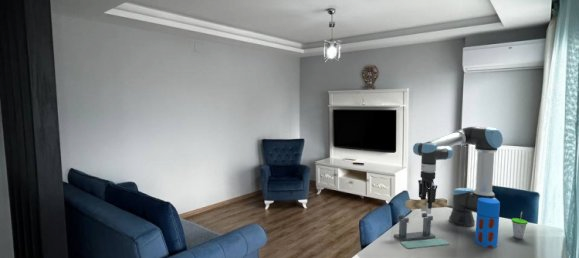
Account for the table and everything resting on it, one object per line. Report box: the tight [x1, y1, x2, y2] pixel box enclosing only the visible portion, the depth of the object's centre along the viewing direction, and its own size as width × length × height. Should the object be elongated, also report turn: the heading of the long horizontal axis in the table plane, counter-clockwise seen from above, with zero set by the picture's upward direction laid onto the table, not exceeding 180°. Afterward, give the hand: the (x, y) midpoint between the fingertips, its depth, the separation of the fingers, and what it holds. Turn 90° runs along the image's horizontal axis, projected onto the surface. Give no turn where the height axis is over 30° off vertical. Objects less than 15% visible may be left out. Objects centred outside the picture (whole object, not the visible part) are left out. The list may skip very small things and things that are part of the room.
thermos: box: [475, 198, 501, 248], centre depth 181 cm, size 11×11×25 cm
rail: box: [404, 198, 448, 211], centre depth 178 cm, size 24×4×4 cm, turn 103°
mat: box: [400, 237, 450, 250], centre depth 180 cm, size 26×7×1 cm, turn 103°
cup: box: [511, 211, 528, 240], centre depth 190 cm, size 8×8×15 cm
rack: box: [393, 212, 436, 242], centre depth 189 cm, size 23×7×13 cm, turn 103°
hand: (425, 212), depth 178 cm, fingers closed on rail, 3 cm apart
